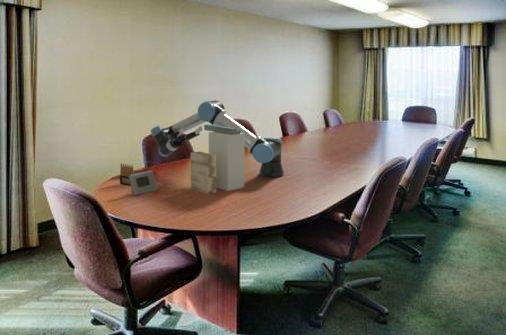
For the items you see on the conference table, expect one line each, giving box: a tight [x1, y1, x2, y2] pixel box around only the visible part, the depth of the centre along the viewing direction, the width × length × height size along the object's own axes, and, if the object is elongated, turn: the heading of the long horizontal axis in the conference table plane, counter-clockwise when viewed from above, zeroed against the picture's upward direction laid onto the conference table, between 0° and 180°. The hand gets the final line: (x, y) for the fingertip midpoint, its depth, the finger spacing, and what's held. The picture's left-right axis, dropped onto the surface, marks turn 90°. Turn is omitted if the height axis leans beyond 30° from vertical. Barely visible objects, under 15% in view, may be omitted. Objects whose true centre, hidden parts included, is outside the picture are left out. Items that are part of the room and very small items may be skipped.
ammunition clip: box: [119, 162, 135, 187], centre depth 252 cm, size 11×2×12 cm, turn 56°
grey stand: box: [208, 128, 246, 192], centre depth 250 cm, size 12×16×32 cm
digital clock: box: [129, 170, 158, 197], centre depth 237 cm, size 16×9×11 cm, turn 133°
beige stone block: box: [190, 151, 217, 195], centre depth 242 cm, size 6×14×20 cm, turn 44°
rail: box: [203, 123, 237, 132], centre depth 250 cm, size 3×24×3 cm, turn 44°
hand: (192, 129), depth 268 cm, fingers open, 13 cm apart
